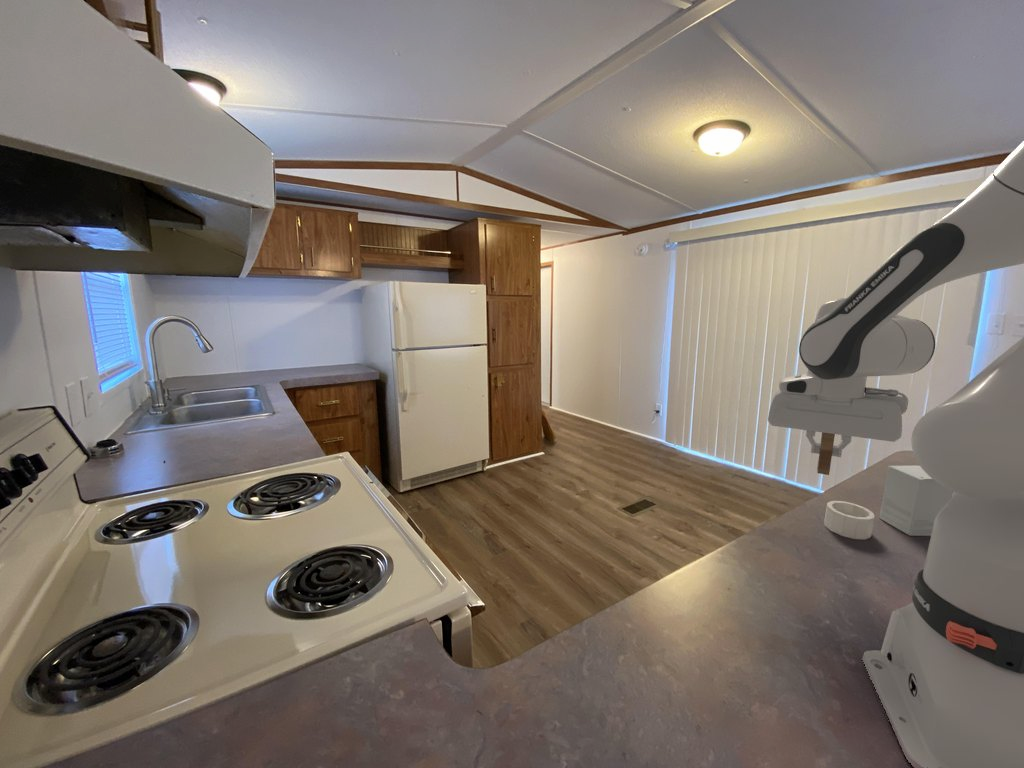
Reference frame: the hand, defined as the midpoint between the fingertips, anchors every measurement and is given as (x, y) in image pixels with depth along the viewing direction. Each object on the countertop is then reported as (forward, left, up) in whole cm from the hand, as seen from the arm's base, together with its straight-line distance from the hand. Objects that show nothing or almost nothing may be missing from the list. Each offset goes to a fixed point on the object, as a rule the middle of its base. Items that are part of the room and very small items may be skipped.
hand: (825, 454), depth 79 cm
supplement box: (+17, -17, -18) cm, 30 cm away
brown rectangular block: (0, 0, -4) cm, 4 cm away
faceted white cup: (+8, -6, -18) cm, 21 cm away
